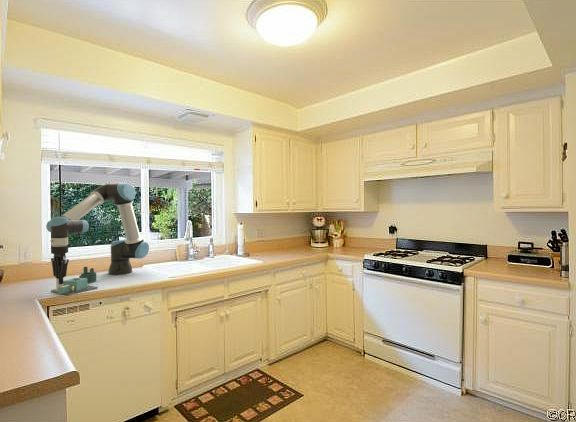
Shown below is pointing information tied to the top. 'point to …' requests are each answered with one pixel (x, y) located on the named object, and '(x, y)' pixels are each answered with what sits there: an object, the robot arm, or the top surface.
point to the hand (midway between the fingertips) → (59, 290)
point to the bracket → (89, 275)
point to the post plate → (77, 290)
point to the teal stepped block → (73, 284)
